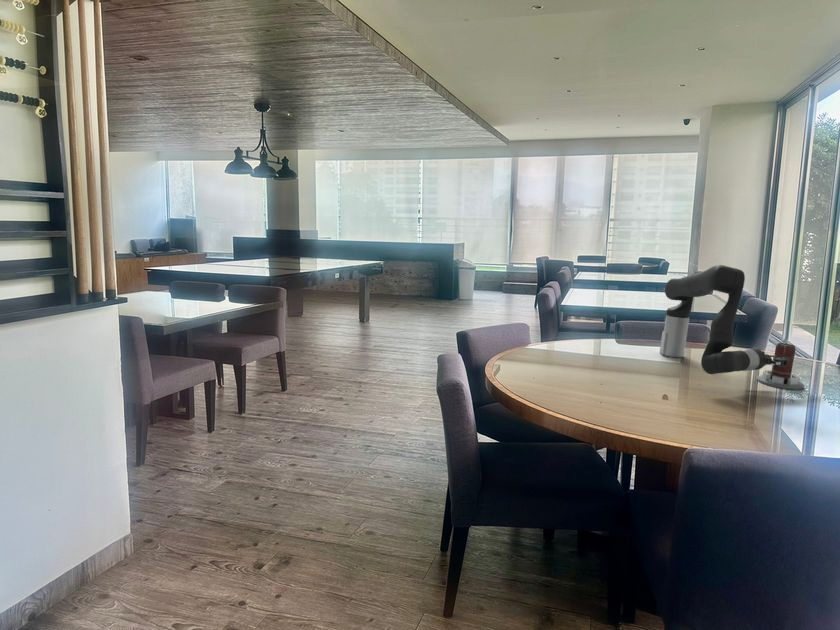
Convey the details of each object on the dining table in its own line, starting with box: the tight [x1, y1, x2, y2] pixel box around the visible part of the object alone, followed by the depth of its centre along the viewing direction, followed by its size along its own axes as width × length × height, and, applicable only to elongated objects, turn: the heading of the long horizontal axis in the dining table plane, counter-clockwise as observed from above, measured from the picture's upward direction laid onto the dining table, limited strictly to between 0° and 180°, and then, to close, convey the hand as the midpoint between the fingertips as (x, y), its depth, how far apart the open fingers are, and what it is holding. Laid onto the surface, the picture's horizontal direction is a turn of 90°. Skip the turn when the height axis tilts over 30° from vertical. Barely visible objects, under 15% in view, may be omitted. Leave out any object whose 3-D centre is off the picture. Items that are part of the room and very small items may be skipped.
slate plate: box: [756, 374, 805, 391], centre depth 213 cm, size 15×15×1 cm
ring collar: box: [762, 369, 801, 386], centre depth 213 cm, size 11×11×2 cm
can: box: [770, 342, 796, 384], centre depth 211 cm, size 6×6×14 cm
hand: (775, 356), depth 208 cm, fingers open, 8 cm apart
